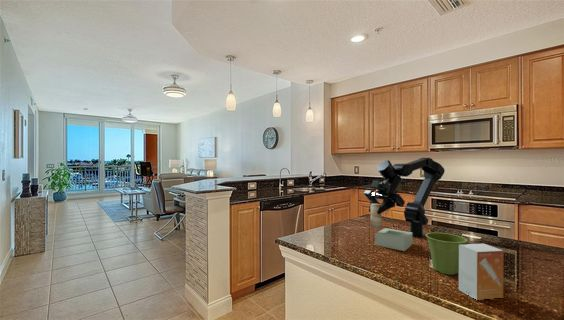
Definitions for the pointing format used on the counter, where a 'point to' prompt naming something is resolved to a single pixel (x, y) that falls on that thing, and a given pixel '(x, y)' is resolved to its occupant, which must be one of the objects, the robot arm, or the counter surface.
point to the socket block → (394, 239)
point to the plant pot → (445, 251)
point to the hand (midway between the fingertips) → (373, 212)
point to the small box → (481, 271)
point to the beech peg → (375, 216)
